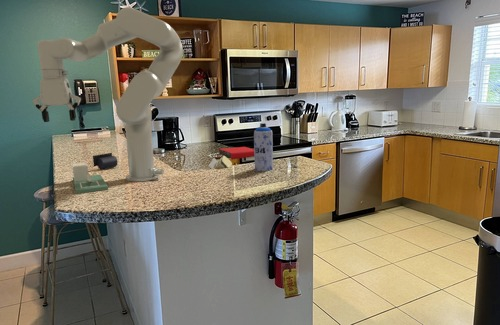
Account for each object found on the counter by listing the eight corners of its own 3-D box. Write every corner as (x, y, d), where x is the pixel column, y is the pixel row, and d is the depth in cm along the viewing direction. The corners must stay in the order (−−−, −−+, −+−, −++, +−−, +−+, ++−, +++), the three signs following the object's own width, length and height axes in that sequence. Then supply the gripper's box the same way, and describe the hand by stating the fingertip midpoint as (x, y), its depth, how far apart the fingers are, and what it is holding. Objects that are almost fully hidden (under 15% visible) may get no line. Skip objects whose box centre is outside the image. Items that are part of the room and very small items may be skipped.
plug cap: (73, 177, 139) (72, 163, 138) (87, 176, 142) (85, 162, 141) (74, 181, 133) (73, 166, 132) (88, 180, 135) (87, 165, 134)
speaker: (110, 162, 170) (91, 165, 163) (111, 152, 168) (92, 155, 161) (118, 168, 166) (99, 172, 159) (119, 158, 164) (100, 161, 157)
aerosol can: (250, 173, 145) (249, 123, 142) (259, 169, 152) (258, 122, 148) (268, 174, 141) (267, 124, 138) (276, 171, 148) (275, 122, 145)
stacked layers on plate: (222, 181, 154) (231, 173, 152) (208, 165, 152) (217, 158, 150) (227, 172, 163) (235, 165, 161) (213, 157, 161) (222, 150, 159)
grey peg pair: (86, 183, 129) (85, 173, 129) (91, 182, 130) (90, 173, 129) (87, 185, 126) (86, 176, 125) (92, 185, 126) (91, 175, 126)
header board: (73, 180, 140) (72, 177, 140) (100, 177, 145) (100, 174, 145) (76, 193, 120) (76, 190, 119) (108, 189, 124) (107, 186, 124)
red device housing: (219, 158, 187) (219, 148, 186) (244, 155, 192) (244, 146, 191) (231, 163, 171) (231, 153, 170) (258, 160, 176) (258, 150, 175)
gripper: (81, 74, 138) (86, 119, 141) (34, 76, 137) (41, 121, 140) (73, 73, 131) (79, 120, 134) (23, 75, 129) (31, 123, 132)
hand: (59, 121), depth 137 cm, fingers open, 9 cm apart
